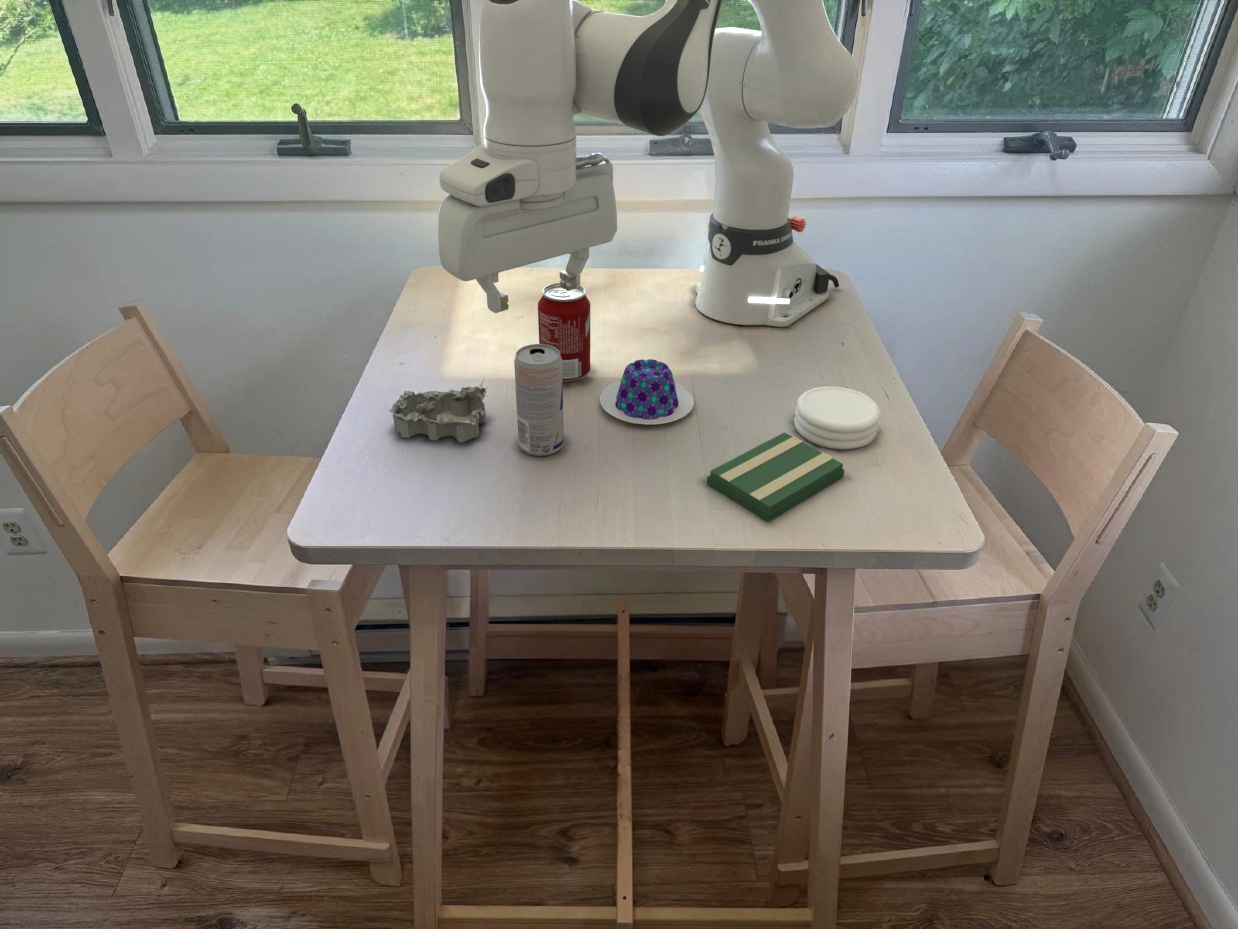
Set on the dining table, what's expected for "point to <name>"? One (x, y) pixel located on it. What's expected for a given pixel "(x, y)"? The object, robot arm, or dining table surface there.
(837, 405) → the coaster
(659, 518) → the dining table surface
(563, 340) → the soda can
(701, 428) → the dining table surface
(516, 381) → the energy drink
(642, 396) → the pudding
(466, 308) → the dining table surface
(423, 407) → the egg carton
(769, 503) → the tea towel
